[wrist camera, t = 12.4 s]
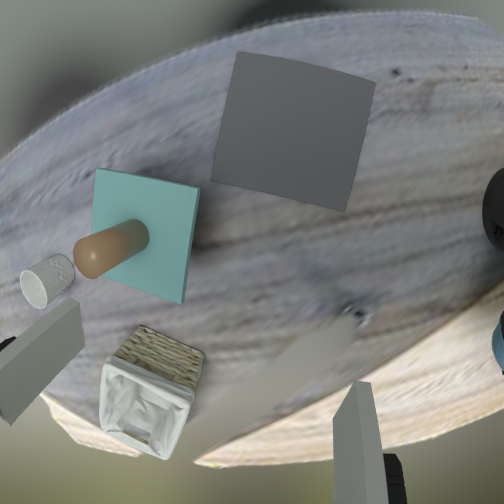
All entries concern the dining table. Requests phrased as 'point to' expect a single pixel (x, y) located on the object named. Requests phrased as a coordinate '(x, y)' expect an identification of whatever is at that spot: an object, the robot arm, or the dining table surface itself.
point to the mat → (292, 130)
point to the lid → (140, 233)
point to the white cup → (46, 280)
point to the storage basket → (149, 390)
